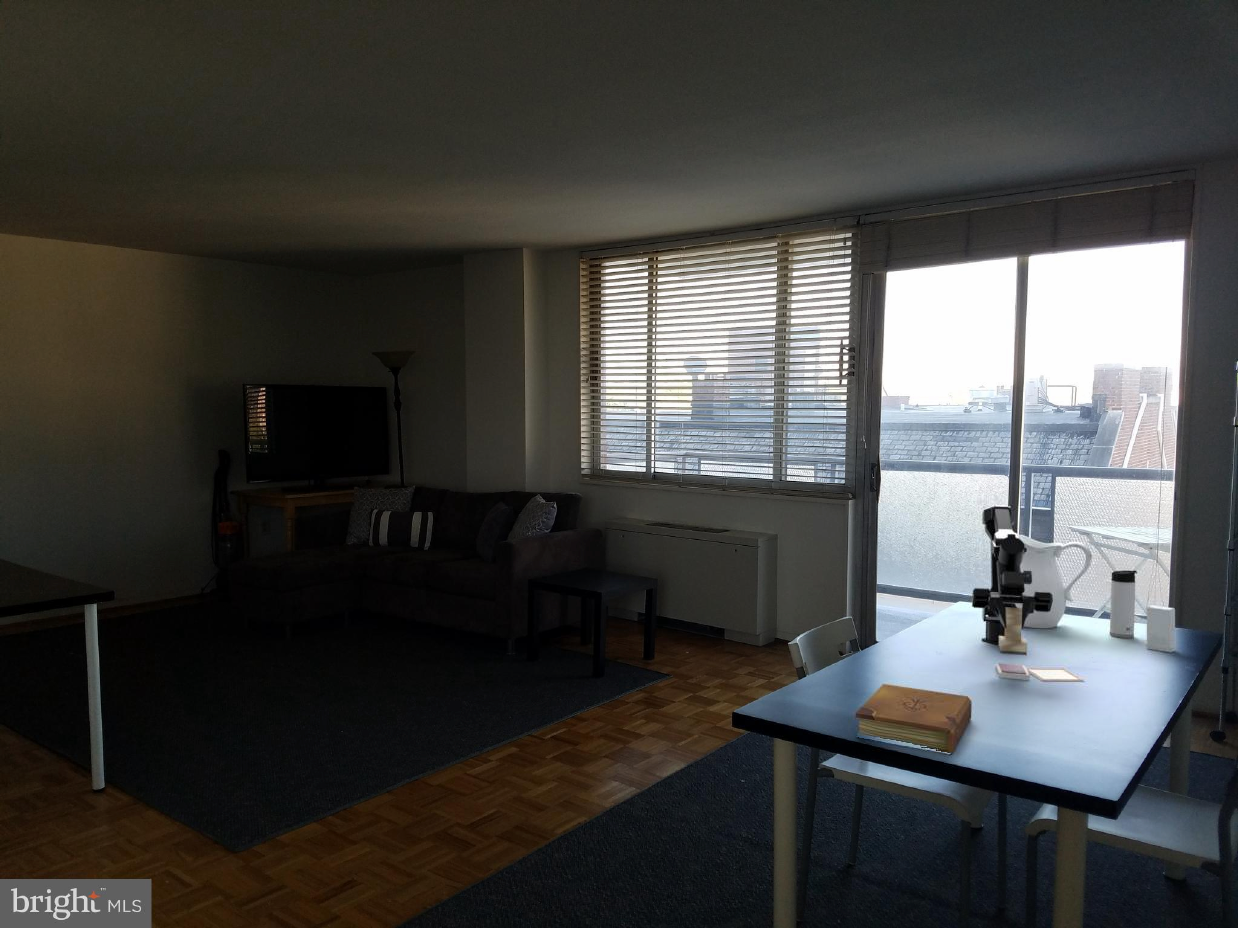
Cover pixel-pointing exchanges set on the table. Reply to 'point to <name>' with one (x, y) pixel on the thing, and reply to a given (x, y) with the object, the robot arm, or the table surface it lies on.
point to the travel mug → (1122, 604)
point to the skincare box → (1161, 628)
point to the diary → (915, 716)
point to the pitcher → (1048, 578)
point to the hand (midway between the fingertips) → (1013, 627)
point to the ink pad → (1012, 671)
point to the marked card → (1053, 674)
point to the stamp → (1013, 634)
